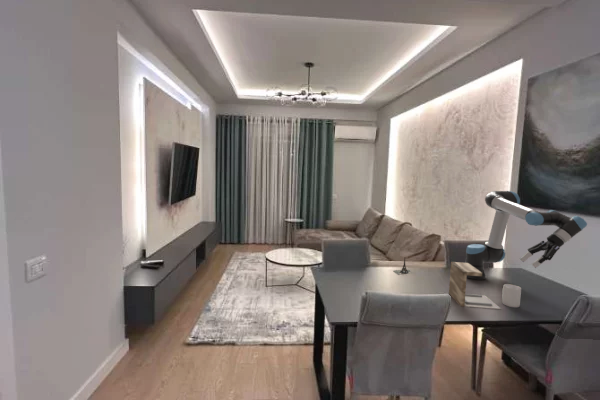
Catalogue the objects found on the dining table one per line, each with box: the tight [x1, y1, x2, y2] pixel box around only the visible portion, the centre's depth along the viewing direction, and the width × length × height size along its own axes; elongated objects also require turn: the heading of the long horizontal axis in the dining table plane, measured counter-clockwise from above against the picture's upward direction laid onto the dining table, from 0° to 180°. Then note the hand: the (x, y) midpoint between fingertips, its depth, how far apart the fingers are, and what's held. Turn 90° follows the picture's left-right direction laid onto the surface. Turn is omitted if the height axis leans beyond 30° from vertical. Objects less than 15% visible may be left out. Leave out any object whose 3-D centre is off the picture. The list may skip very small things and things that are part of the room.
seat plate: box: [464, 293, 501, 310], centre depth 188 cm, size 18×20×2 cm
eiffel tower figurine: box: [392, 256, 412, 275], centre depth 241 cm, size 15×10×13 cm
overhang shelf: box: [448, 261, 482, 308], centre depth 188 cm, size 10×20×20 cm, turn 173°
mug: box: [501, 283, 522, 308], centre depth 186 cm, size 9×12×11 cm
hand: (527, 263), depth 183 cm, fingers open, 13 cm apart
